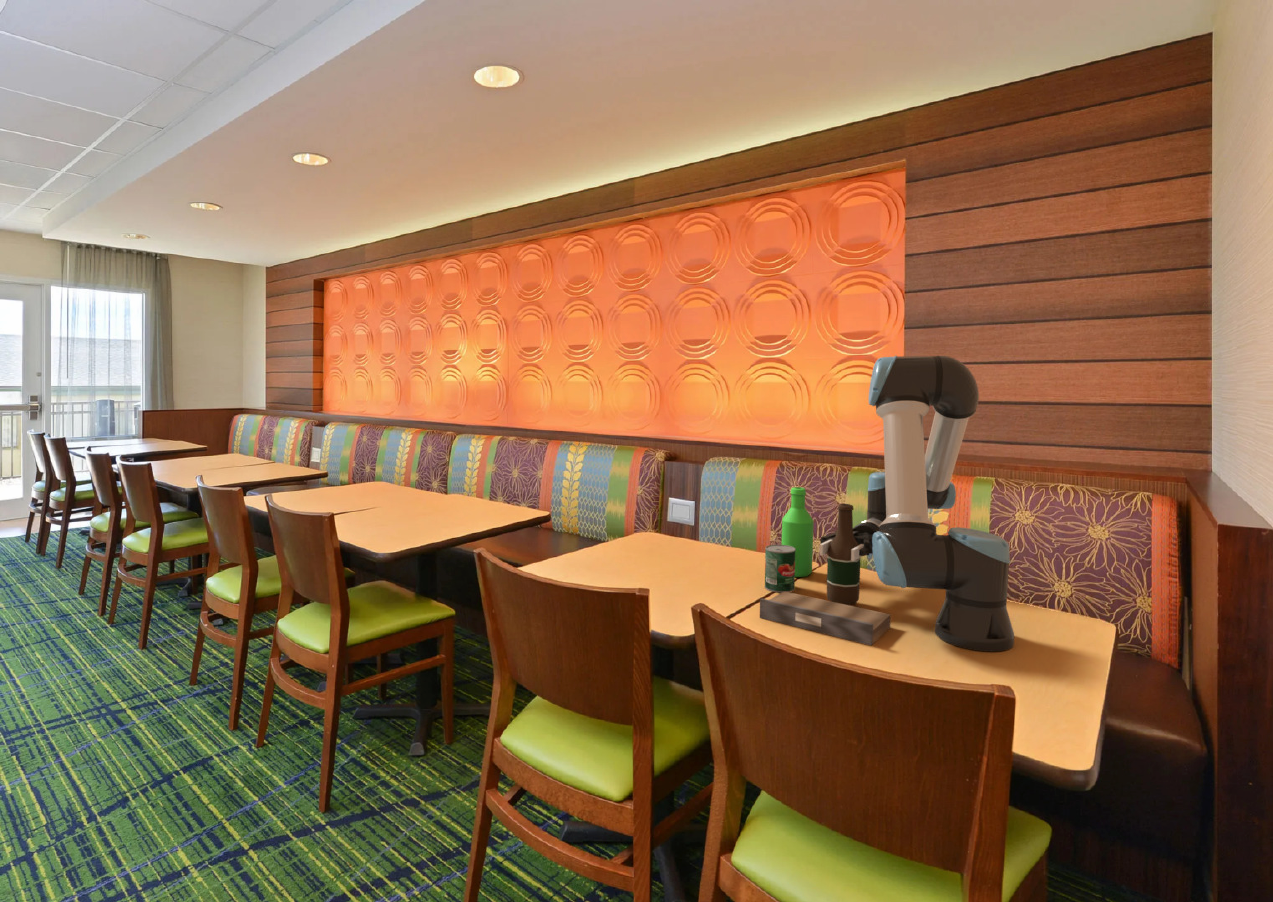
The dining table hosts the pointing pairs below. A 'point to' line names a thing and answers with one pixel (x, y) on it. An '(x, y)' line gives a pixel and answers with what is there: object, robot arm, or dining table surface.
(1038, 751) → the dining table surface
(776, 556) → the canned tomato
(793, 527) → the bottle
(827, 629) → the shelf
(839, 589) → the beer bottle
